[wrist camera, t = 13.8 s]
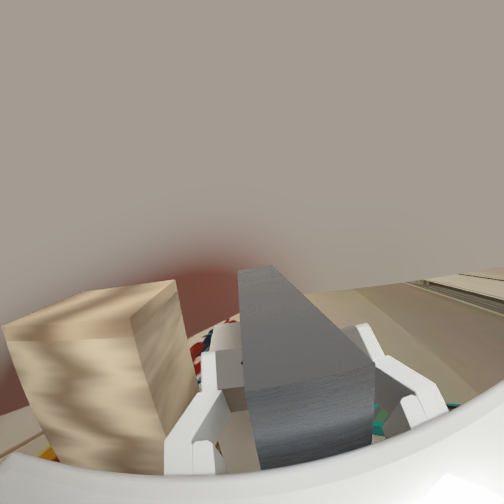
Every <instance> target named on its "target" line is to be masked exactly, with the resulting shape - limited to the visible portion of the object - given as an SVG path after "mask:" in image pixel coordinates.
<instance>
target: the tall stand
mask: <svg viewBox="0 0 504 504" xmlns="http://www.w3.org/2000/svg"><path fill="white" fill-rule="evenodd" d="M2 329H3V332H4V336H5V339H6V342H7V346H8V349H9V352H10V355H11V358H12V361H13V364H14V367H15V369H16V372H17V375H18V377H19V380H20V382H21V385H22V387H23V390H24V392H25V394H26V397H27V399H28V401H29V404H30V406H31V408H32V410H33V412H34V414H35V416H36V418H37V420H38V422H39V424H40V426H41V428H42V430H43V432H44V434H45V436H46V438H47V440H48V441H49V443H50V445H51V447H52V448H53V450H54V452H55V454H56V455H57V457H58V459H59V460H60V462H61V463H63V464H68V465H73V466H78V467H83V468H89V469H95V470H102V471H110V472H118V473H128V474H140V475H159V476H164V441H165V439H166V438H167V436H168V435H169V433H170V432H171V430H172V429H173V428H174V426H175V425H176V423H177V422H178V420H179V419H180V417H181V416H182V414H183V413H184V412H185V410H186V409H187V407H188V406H189V404H190V403H191V401H192V400H193V398H194V397H195V395H196V394H197V392H200V391H199V387H198V383H197V379H196V375H195V371H194V367H193V363H192V358H191V354H190V350H189V345H188V341H187V337H186V332H185V327H184V322H183V318H182V313H181V308H180V303H179V297H178V292H177V287H176V281H175V280H168V281H161V282H154V283H146V284H139V285H132V286H125V287H117V288H109V289H102V290H95V291H86V292H80V293H77V294H75V295H73V296H70V297H68V298H66V299H63V300H61V301H59V302H56V303H54V304H51V305H49V306H47V307H44V308H42V309H40V310H38V311H35V312H33V313H31V314H28V315H26V316H24V317H22V318H19V319H17V320H15V321H13V322H11V323H8V324H6V325H4V326H2Z"/></svg>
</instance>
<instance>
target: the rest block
mask: <svg viewBox="0 0 504 504" xmlns="http://www.w3.org/2000/svg"><path fill="white" fill-rule="evenodd" d="M237 348H242V344H241V327H240V322H235V323H228V324H221V325H215V326H214V330H213V335H212V340H211V345H210V350H209V352H210V351H219V350H228V349H237ZM218 443H219V446H220V449H221V452H222V456H223V458H224V459H225V461H226V464H227V472H228V474H233V473H243V472H252V471H259V470H261V468H260V463H259V459H258V454H257V450H256V445H255V440H254V436H253V431H252V426H251V421H250V416H249V411H248V410H245V411H239V412H232V413H231V416H230V418H229V420H228V422H227V424H226V426H225V428H224V430H223V432H222V434H221V436H220V437H219V439H218Z"/></svg>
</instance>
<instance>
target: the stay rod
mask: <svg viewBox="0 0 504 504" xmlns="http://www.w3.org/2000/svg"><path fill="white" fill-rule="evenodd" d="M238 290H239V308H240V327H241V344H242V360H243V376H244V391H245V397H246V402H247V407H248V411H249V416H250V421H251V426H252V431H253V436H254V440H255V445H256V450H257V454H258V459H259V463H260V468H261V470H266V469H273V468H279V467H285V466H290V465H295V464H300V463H305V462H310V461H314V460H318V459H323V458H327V457H330V456H334V455H338V454H342V453H345V452H348V451H352V450H355V449H358V448H362V447H365V446H368V445H371V441H372V430H373V416H374V398H375V362H374V361H372V360H371V359H370V358H369V357H368V356H367V355H366V354H365V353H364V352H363V351H362V350H361V349H360V348H359V347H358V346H357V345H356V344H355V343H354V342H352V341H351V340H350V339H349V338H348V337H347V336H346V335H345V334H344V333H343V332H342V331H341V330H340V329H339V328H338V327H337V326H336V325H335V324H333V323H332V322H331V321H330V320H329V319H328V318H327V317H326V316H325V315H324V314H323V313H322V312H321V311H320V310H319V309H318V308H317V307H315V306H314V305H313V304H312V303H311V302H310V301H309V300H308V299H307V298H306V297H305V296H304V295H303V294H302V293H301V292H299V291H298V290H297V289H296V288H295V287H294V286H293V285H292V284H291V283H290V282H289V281H288V280H287V279H286V278H285V277H284V276H283V275H282V274H280V273H279V272H278V271H277V270H276V269H275V268H274V267H273V266H272V265H270V266H264V267H257V268H251V269H244V270H238Z"/></svg>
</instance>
